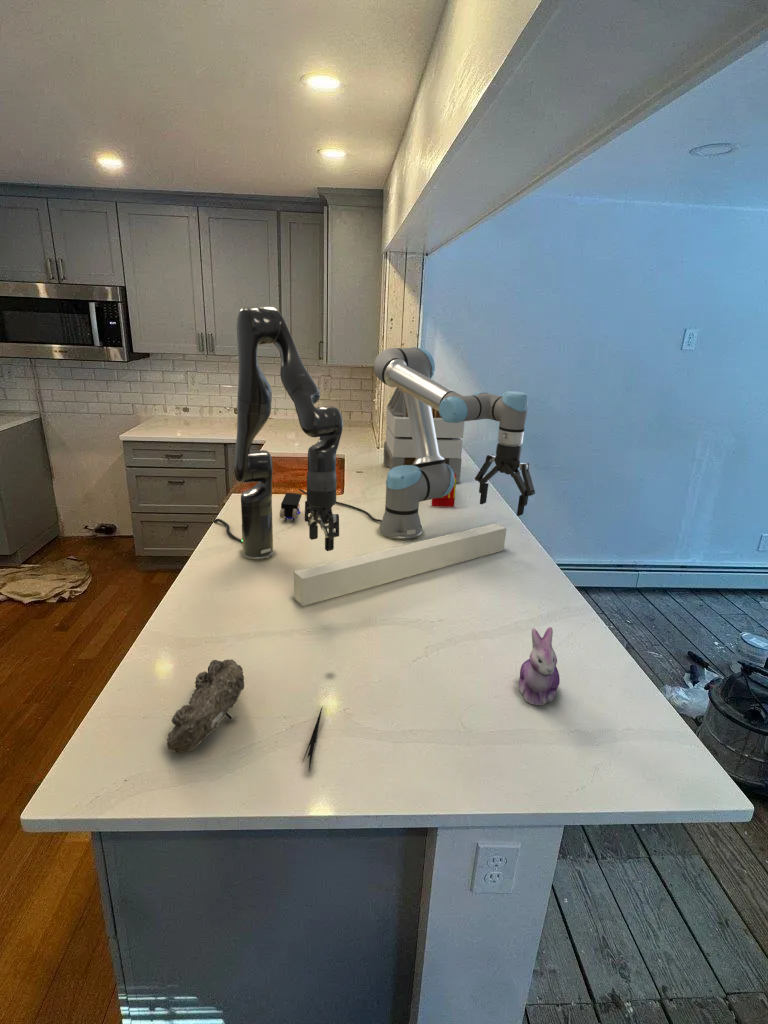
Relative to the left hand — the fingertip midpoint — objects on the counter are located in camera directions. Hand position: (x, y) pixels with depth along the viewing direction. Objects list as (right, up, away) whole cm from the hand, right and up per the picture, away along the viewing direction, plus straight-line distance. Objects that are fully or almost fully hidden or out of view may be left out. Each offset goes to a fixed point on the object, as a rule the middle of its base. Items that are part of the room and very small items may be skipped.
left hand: (321, 544), depth 150 cm
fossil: (-16, -31, -41) cm, 54 cm away
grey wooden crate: (+34, +27, +125) cm, 133 cm away
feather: (+4, -31, -41) cm, 52 cm away
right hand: (+54, +9, +31) cm, 63 cm away
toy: (+40, +15, +92) cm, 102 cm away
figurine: (+49, -30, -30) cm, 65 cm away
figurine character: (-18, +6, +61) cm, 64 cm away
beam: (+24, -10, +22) cm, 34 cm away
